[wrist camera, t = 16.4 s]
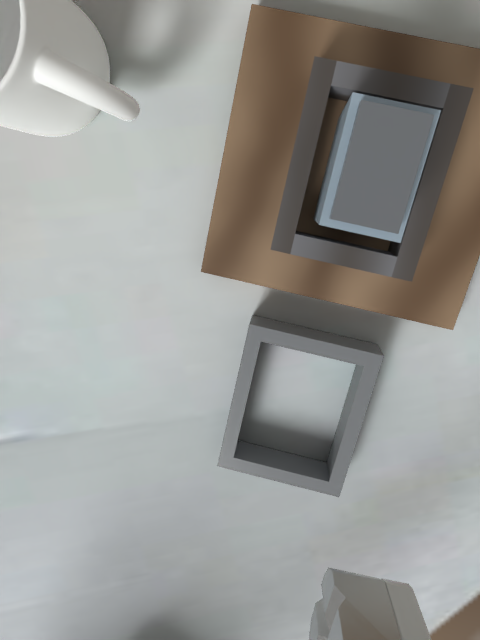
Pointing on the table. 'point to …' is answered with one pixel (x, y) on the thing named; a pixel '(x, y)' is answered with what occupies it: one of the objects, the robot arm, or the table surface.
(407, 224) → the dock
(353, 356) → the grey rectangular frame
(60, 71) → the mug
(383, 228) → the plug
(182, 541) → the table surface
